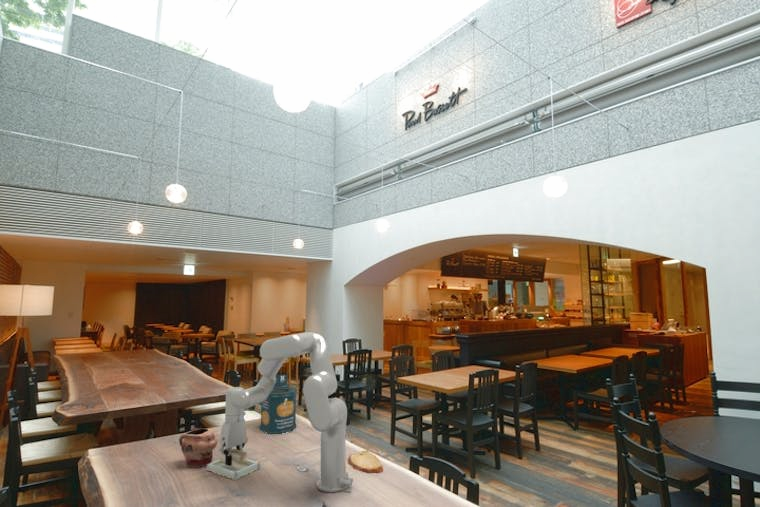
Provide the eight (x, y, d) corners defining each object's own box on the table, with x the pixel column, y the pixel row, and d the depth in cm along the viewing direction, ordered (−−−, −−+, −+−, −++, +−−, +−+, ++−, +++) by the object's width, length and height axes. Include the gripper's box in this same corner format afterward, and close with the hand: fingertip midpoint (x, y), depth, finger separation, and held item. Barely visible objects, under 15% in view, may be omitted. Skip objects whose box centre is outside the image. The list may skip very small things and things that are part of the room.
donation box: (286, 423, 228) (286, 374, 232) (299, 429, 216) (300, 377, 220) (259, 429, 218) (260, 377, 221) (272, 436, 206) (273, 381, 209)
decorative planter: (166, 467, 168) (168, 433, 170) (186, 456, 180) (188, 425, 182) (206, 471, 163) (207, 436, 165) (224, 460, 175) (225, 427, 177)
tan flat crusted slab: (381, 475, 157) (381, 465, 158) (339, 471, 162) (339, 462, 162) (391, 458, 174) (391, 449, 175) (353, 455, 179) (353, 446, 179)
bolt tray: (259, 468, 165) (259, 462, 165) (234, 480, 154) (234, 473, 155) (231, 460, 175) (231, 454, 175) (206, 470, 164) (206, 464, 164)
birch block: (228, 459, 170) (228, 447, 170) (246, 464, 163) (246, 452, 164) (220, 462, 166) (220, 450, 167) (238, 468, 160) (238, 455, 161)
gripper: (244, 411, 176) (243, 454, 174) (211, 421, 162) (209, 468, 160) (256, 414, 172) (255, 458, 170) (223, 424, 158) (221, 472, 156)
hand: (233, 462), depth 165 cm, fingers closed on birch block, 4 cm apart
